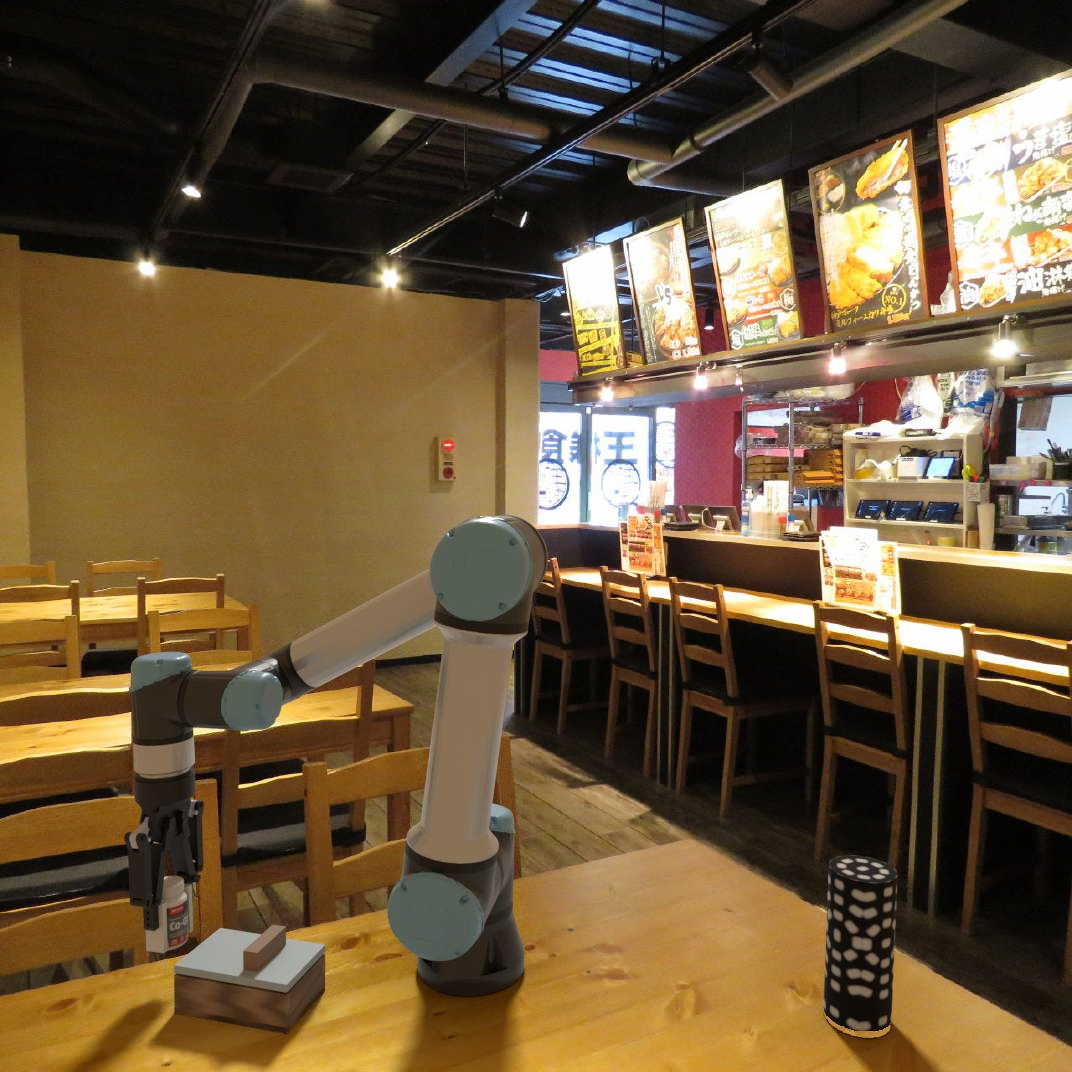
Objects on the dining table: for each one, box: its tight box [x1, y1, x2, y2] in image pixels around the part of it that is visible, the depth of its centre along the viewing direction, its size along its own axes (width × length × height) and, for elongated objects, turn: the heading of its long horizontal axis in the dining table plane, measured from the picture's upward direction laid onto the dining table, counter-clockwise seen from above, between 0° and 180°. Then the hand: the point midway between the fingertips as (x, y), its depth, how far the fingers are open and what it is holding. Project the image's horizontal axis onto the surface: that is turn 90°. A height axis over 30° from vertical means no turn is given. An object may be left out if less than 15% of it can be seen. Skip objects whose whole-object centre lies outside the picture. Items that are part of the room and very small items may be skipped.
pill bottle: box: [152, 875, 189, 951], centre depth 119 cm, size 5×5×8 cm
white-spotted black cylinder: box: [822, 854, 899, 1031], centre depth 115 cm, size 8×8×20 cm
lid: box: [173, 924, 326, 993], centre depth 116 cm, size 16×10×4 cm, turn 76°
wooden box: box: [173, 953, 326, 1035], centre depth 117 cm, size 16×10×5 cm, turn 76°
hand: (170, 940), depth 120 cm, fingers closed on pill bottle, 5 cm apart
